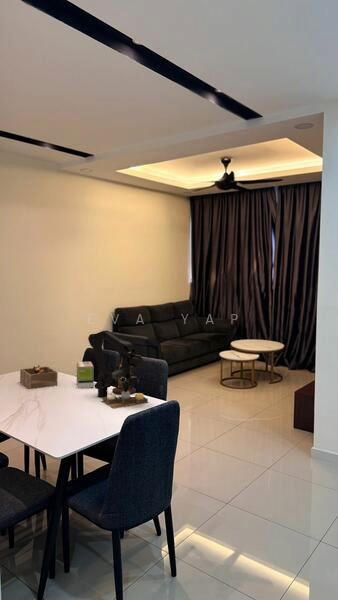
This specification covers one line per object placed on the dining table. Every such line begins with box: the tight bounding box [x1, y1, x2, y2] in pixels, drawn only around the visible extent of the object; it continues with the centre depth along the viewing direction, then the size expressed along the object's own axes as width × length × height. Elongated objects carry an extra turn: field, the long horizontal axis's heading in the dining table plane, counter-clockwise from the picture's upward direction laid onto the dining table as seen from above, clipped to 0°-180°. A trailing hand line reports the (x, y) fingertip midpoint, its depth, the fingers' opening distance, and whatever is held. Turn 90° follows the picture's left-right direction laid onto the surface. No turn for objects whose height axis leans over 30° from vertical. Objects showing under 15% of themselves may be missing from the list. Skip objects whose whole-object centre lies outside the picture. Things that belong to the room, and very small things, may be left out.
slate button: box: [120, 391, 131, 400], centre depth 239 cm, size 5×5×4 cm
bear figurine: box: [32, 365, 44, 374], centre depth 278 cm, size 14×15×12 cm
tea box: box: [76, 361, 95, 389], centre depth 277 cm, size 15×10×15 cm, turn 17°
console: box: [100, 396, 149, 410], centre depth 239 cm, size 16×23×3 cm
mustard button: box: [134, 392, 145, 400], centre depth 240 cm, size 5×5×4 cm
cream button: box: [107, 392, 117, 400], centre depth 238 cm, size 5×5×4 cm
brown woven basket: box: [111, 361, 137, 396], centre depth 260 cm, size 15×15×20 cm
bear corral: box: [19, 366, 59, 390], centre depth 277 cm, size 20×18×9 cm
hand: (125, 391), depth 239 cm, fingers closed
